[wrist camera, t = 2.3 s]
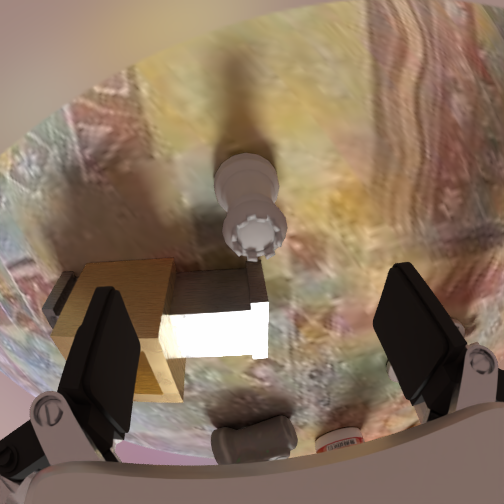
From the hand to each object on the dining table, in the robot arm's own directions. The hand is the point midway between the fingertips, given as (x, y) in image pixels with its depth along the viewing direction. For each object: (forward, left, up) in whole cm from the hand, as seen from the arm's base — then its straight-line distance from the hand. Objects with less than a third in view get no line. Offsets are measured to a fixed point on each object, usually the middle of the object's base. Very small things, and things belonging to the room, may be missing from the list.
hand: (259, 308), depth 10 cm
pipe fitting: (0, +38, -13) cm, 41 cm away
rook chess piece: (0, 0, -13) cm, 13 cm away
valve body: (+8, +10, -13) cm, 18 cm away
